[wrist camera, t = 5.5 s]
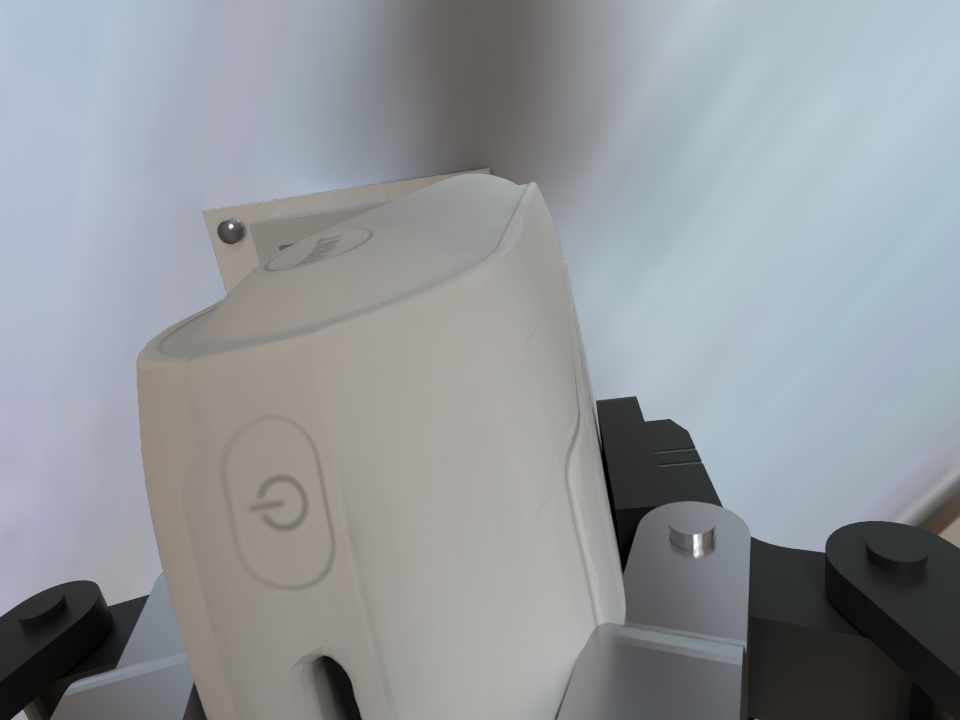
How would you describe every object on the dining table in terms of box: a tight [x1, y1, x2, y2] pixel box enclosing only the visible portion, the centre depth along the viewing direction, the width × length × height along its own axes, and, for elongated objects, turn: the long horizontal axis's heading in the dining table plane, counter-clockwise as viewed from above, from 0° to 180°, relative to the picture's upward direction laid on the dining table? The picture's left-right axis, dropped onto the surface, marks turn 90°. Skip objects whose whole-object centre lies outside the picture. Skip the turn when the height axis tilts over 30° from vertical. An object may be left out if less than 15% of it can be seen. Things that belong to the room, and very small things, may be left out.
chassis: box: [202, 167, 491, 295], centre depth 33 cm, size 16×15×3 cm
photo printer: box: [136, 174, 626, 720], centre depth 11 cm, size 10×4×12 cm, turn 14°
